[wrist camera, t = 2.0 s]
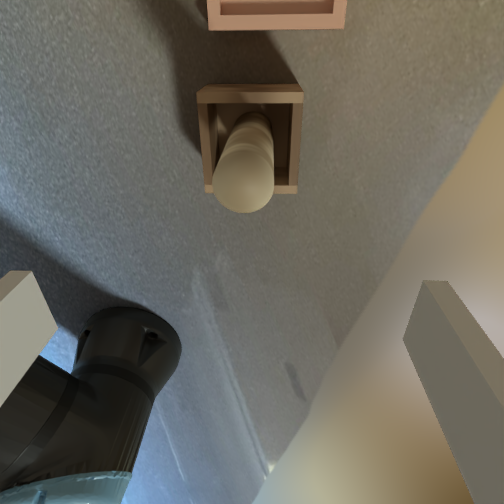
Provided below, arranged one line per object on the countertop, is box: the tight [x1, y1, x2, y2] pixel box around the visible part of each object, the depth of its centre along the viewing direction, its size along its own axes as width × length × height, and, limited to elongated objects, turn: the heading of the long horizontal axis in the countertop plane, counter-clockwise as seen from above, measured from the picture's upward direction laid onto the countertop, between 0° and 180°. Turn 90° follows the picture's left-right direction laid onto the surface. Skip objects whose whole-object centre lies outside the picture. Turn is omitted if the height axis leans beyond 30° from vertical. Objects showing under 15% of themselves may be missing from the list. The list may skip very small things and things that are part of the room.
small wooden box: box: [196, 84, 304, 194], centre depth 31 cm, size 9×9×6 cm
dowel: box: [212, 111, 274, 213], centre depth 27 cm, size 4×4×14 cm
